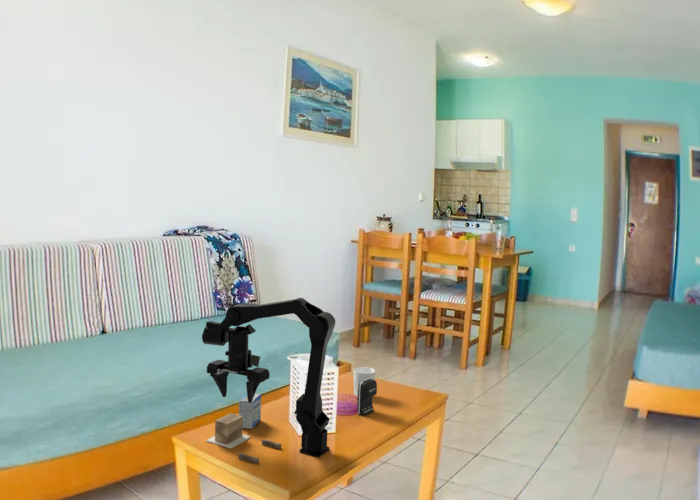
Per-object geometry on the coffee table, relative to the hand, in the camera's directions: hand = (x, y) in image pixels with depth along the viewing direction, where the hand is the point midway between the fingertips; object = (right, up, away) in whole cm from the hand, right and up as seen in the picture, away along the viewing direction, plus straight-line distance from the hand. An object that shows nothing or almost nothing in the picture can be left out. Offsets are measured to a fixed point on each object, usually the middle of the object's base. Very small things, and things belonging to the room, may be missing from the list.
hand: (237, 399), depth 174 cm
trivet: (-3, -12, 0) cm, 12 cm away
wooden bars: (+8, -13, -8) cm, 17 cm away
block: (-2, -11, 0) cm, 12 cm away
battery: (+39, -11, +26) cm, 48 cm away
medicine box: (+2, -11, +13) cm, 17 cm away
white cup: (+38, -10, +42) cm, 58 cm away
